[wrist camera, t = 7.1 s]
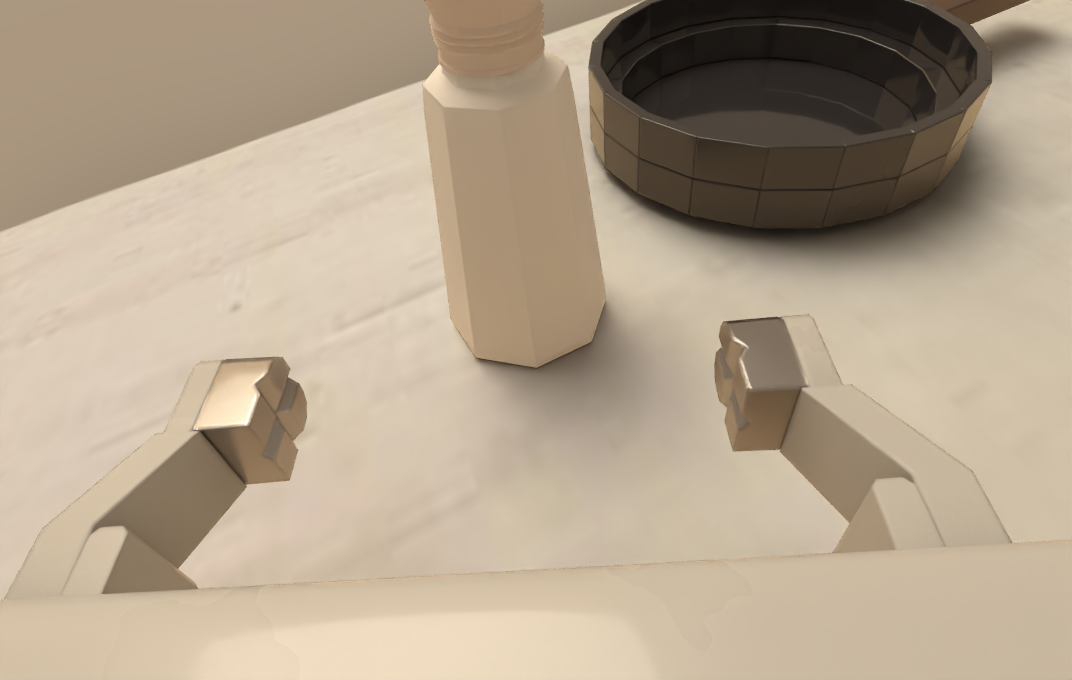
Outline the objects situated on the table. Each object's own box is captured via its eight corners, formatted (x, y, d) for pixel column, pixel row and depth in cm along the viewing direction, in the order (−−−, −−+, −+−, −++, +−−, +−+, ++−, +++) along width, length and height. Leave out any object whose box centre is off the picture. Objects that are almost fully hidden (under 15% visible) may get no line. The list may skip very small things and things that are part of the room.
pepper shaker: (450, 270, 24) (366, -62, 16) (593, 250, 24) (582, -92, 16) (452, 382, 20) (342, 24, 12) (620, 358, 20) (624, -15, 12)
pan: (772, 31, 35) (785, -46, 32) (1037, 148, 26) (1088, 54, 23) (533, 118, 31) (525, 39, 28) (745, 295, 22) (764, 202, 19)
